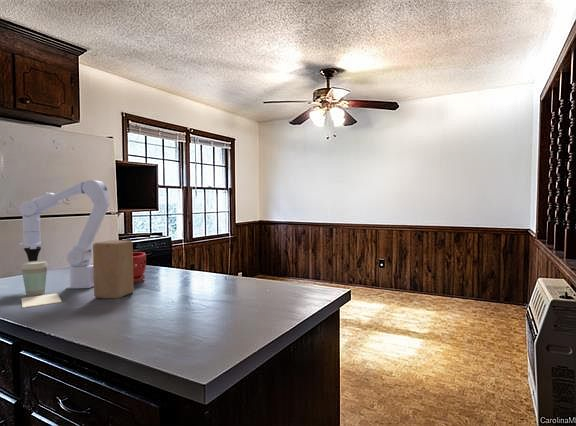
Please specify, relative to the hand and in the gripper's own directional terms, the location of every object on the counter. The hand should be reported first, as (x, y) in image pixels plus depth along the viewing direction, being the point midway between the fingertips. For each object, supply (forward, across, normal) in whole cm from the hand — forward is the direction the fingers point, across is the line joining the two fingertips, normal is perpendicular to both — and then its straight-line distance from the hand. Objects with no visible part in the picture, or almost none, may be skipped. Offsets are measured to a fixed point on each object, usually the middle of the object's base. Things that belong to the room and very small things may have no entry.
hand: (33, 265), depth 147 cm
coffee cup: (+10, +11, 0) cm, 14 cm away
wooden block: (+10, +32, +23) cm, 41 cm away
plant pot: (+10, +11, +34) cm, 37 cm away
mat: (+9, +23, +1) cm, 25 cm away
